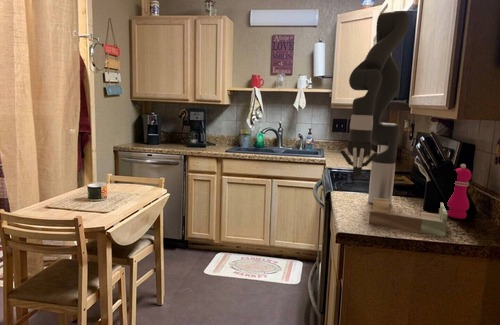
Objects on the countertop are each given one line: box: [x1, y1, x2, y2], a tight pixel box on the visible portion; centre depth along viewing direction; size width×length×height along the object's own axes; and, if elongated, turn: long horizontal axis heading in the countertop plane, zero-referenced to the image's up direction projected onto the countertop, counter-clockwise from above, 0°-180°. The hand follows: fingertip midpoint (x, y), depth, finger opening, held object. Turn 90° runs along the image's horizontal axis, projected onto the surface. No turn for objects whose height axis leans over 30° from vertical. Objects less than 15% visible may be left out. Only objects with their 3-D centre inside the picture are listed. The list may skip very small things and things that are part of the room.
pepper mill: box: [447, 163, 472, 220], centre depth 136 cm, size 7×7×20 cm
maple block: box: [372, 198, 390, 213], centre depth 127 cm, size 5×5×5 cm
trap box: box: [368, 202, 448, 237], centre depth 127 cm, size 17×23×7 cm
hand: (356, 177), depth 129 cm, fingers closed
